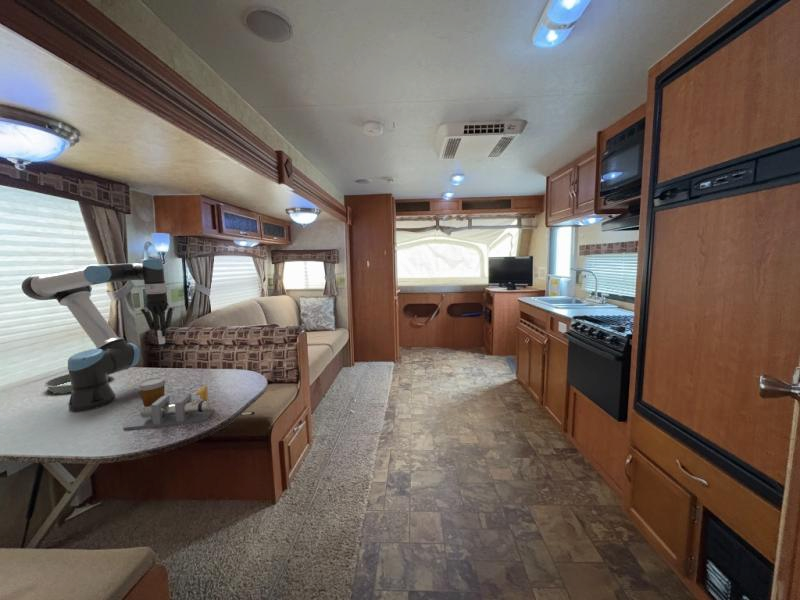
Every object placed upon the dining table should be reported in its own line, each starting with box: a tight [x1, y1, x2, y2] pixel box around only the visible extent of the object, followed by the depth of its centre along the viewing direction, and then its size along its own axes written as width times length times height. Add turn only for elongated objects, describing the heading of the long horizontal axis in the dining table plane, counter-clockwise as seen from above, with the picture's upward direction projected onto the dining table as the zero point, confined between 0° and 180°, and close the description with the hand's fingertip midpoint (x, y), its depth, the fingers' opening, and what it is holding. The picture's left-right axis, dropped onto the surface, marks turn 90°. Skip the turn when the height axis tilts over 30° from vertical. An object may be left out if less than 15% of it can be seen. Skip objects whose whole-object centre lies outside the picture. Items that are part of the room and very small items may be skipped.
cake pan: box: [44, 373, 110, 394], centre depth 166 cm, size 25×25×4 cm
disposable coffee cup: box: [137, 377, 166, 407], centre depth 137 cm, size 10×10×12 cm
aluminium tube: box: [140, 400, 208, 418], centre depth 127 cm, size 22×4×4 cm, turn 101°
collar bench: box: [122, 385, 215, 431], centre depth 127 cm, size 28×9×11 cm, turn 101°
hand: (162, 343), depth 150 cm, fingers closed
